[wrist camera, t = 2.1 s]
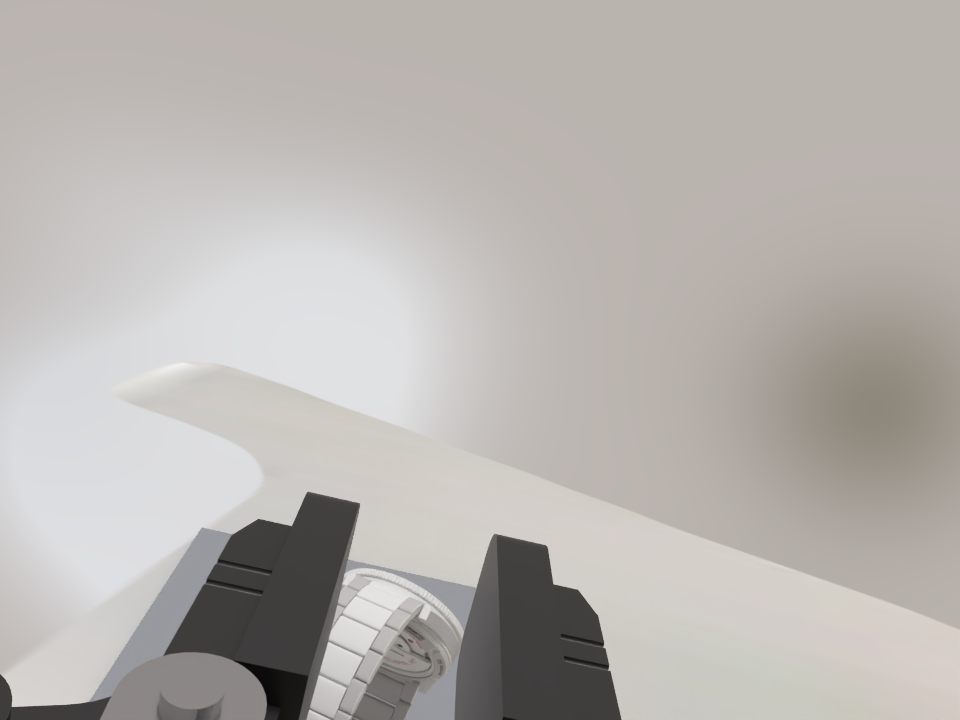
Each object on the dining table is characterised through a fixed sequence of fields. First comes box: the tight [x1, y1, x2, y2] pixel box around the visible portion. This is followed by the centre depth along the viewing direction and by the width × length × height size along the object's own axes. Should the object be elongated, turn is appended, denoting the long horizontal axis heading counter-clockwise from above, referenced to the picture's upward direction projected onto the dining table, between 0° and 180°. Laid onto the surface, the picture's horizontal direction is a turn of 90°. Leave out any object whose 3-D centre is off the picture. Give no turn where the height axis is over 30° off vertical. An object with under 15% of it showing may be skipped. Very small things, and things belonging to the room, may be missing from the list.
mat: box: [90, 528, 477, 720], centre depth 41 cm, size 20×14×1 cm
